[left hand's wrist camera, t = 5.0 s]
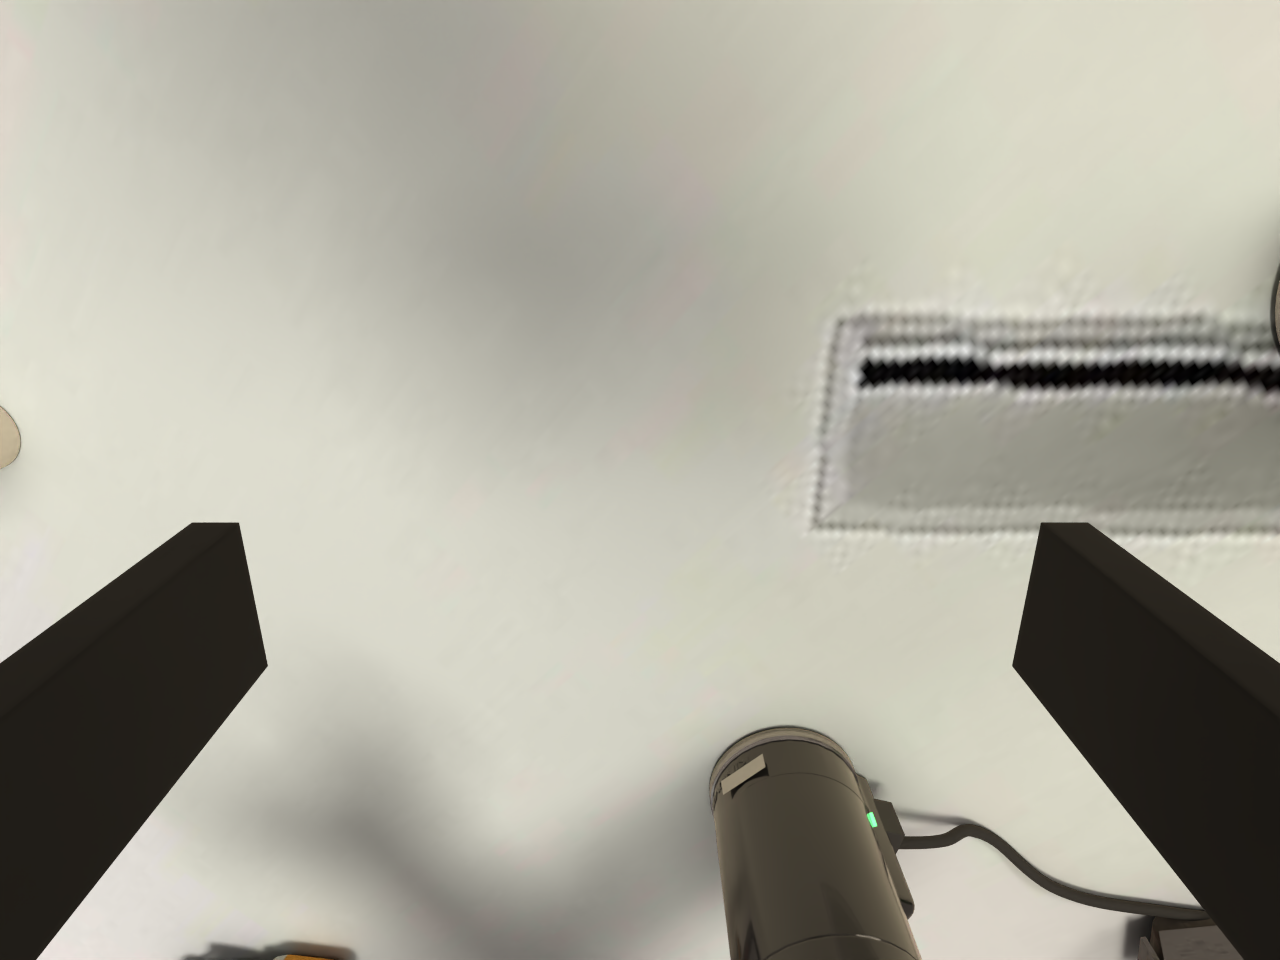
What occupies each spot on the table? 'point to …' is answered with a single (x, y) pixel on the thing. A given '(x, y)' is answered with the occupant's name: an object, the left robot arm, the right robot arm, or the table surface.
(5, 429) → the cream bottle
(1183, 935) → the toy
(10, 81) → the table surface
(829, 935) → the right robot arm
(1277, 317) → the bust sculpture
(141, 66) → the table surface
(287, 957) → the spray gun
